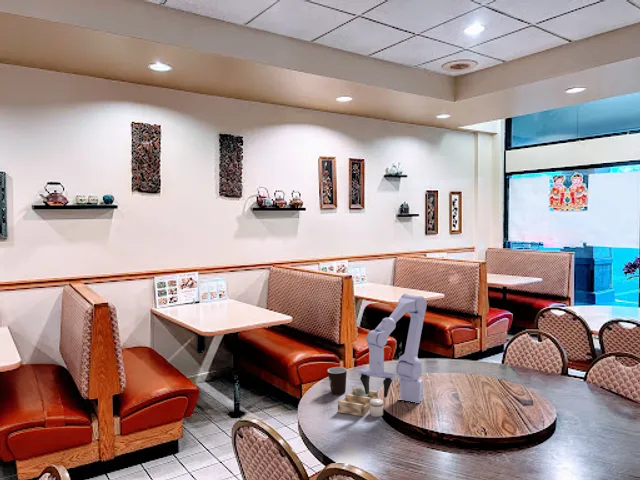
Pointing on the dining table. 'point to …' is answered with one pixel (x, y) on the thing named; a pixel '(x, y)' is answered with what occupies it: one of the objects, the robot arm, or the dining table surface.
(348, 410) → the rack
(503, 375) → the dining table surface
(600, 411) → the dining table surface
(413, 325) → the robot arm
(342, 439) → the dining table surface
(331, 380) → the coffee mug
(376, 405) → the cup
